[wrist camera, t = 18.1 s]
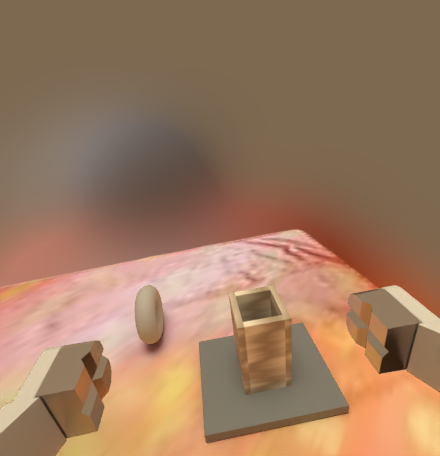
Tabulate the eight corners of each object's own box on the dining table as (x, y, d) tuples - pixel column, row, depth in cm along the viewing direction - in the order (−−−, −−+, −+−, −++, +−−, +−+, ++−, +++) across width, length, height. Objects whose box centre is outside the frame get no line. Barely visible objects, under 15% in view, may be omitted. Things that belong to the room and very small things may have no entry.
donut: (163, 355, 44) (150, 309, 40) (143, 359, 44) (127, 313, 40) (167, 313, 53) (156, 273, 49) (150, 316, 53) (137, 276, 49)
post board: (206, 442, 32) (193, 391, 28) (200, 348, 44) (190, 303, 40) (348, 413, 33) (355, 359, 29) (302, 329, 46) (303, 283, 42)
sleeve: (245, 395, 35) (237, 328, 30) (236, 354, 41) (228, 293, 36) (291, 385, 35) (291, 318, 30) (276, 346, 41) (274, 285, 36)
